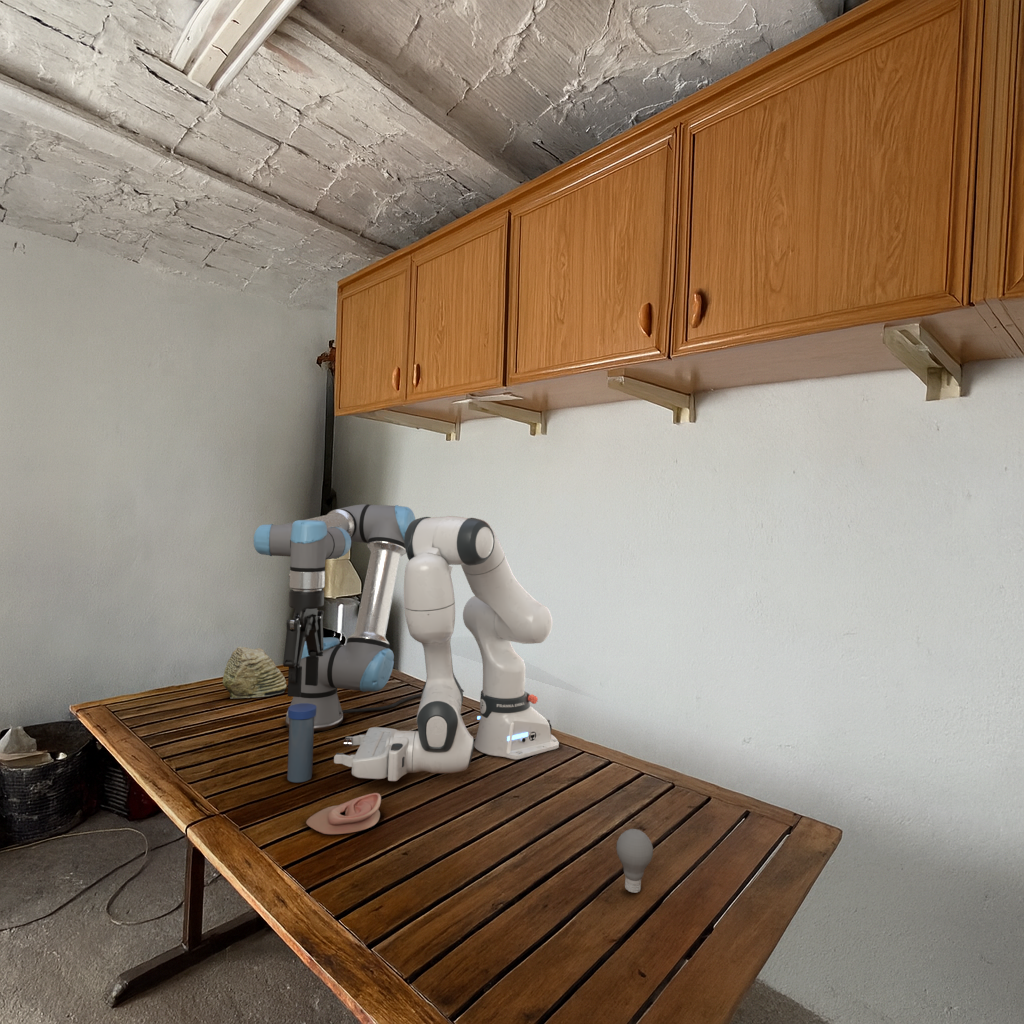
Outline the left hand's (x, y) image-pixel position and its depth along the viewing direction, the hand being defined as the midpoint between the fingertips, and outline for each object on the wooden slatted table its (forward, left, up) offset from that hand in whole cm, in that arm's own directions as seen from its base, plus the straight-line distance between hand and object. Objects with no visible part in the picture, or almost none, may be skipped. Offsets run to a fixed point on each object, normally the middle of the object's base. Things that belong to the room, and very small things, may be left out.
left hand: (303, 690), depth 142 cm
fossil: (-23, -60, -20) cm, 68 cm away
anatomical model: (+5, +23, -20) cm, 31 cm away
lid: (0, 0, -4) cm, 4 cm away
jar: (0, 0, -20) cm, 20 cm away
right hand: (-6, +7, -13) cm, 16 cm away
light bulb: (-14, +76, -20) cm, 80 cm away
